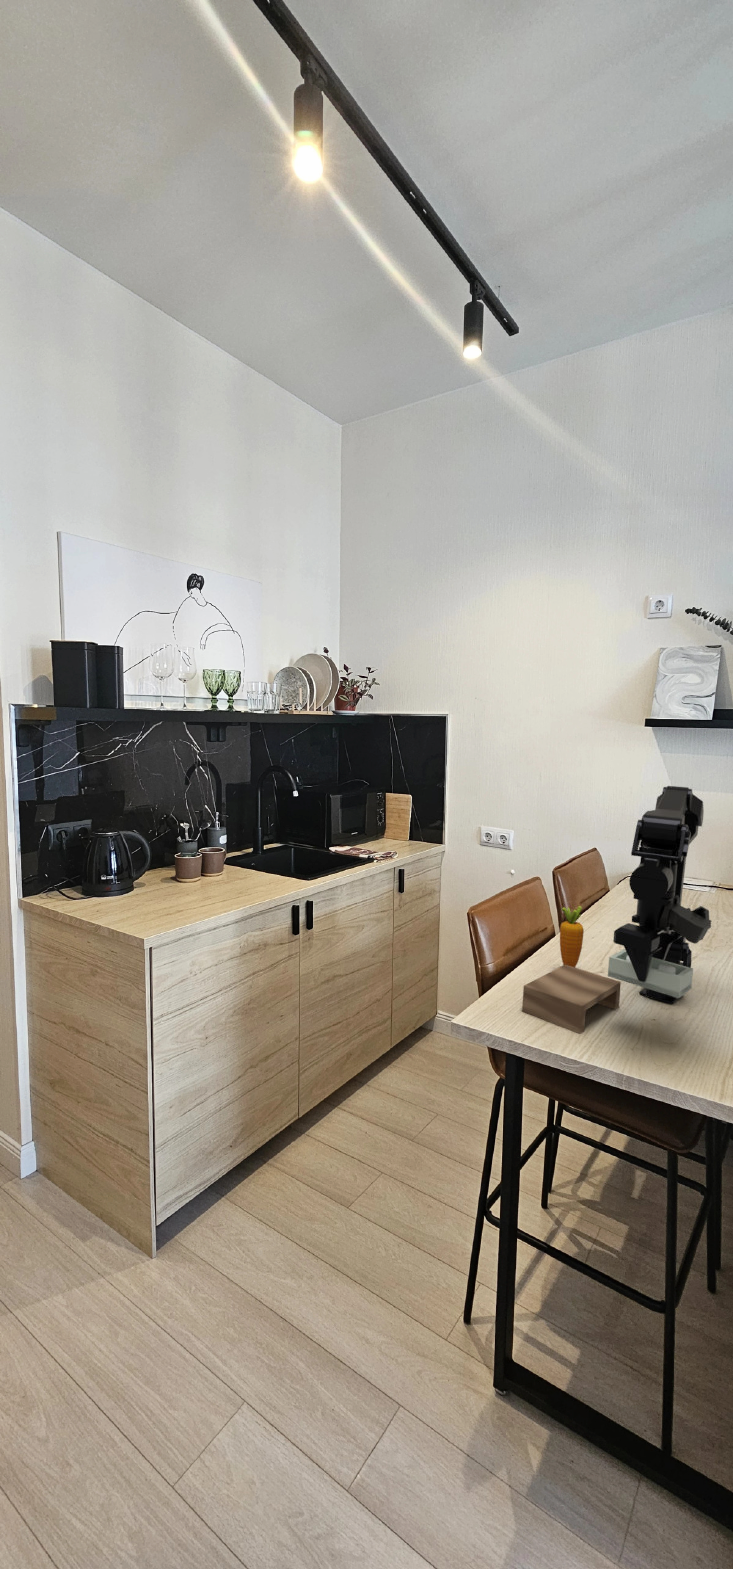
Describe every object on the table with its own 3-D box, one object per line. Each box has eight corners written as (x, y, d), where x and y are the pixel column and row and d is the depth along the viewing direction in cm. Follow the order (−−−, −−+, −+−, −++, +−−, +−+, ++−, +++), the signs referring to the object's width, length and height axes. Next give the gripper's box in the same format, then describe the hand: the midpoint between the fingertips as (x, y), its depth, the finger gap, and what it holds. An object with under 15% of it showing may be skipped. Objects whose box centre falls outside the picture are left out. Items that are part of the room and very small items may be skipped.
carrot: (553, 974, 142) (558, 906, 140) (560, 967, 146) (565, 901, 144) (576, 980, 139) (582, 910, 137) (583, 973, 143) (588, 905, 141)
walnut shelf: (563, 988, 134) (565, 964, 134) (618, 1006, 127) (620, 981, 126) (522, 1011, 123) (523, 985, 123) (579, 1033, 115) (581, 1006, 115)
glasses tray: (622, 967, 121) (623, 949, 120) (691, 988, 112) (693, 968, 112) (607, 976, 116) (609, 957, 116) (678, 998, 108) (680, 977, 108)
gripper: (687, 909, 100) (678, 1007, 102) (725, 889, 114) (716, 976, 115) (615, 893, 108) (608, 985, 110) (659, 876, 121) (652, 958, 123)
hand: (649, 976), depth 114 cm, fingers closed on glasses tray, 6 cm apart
